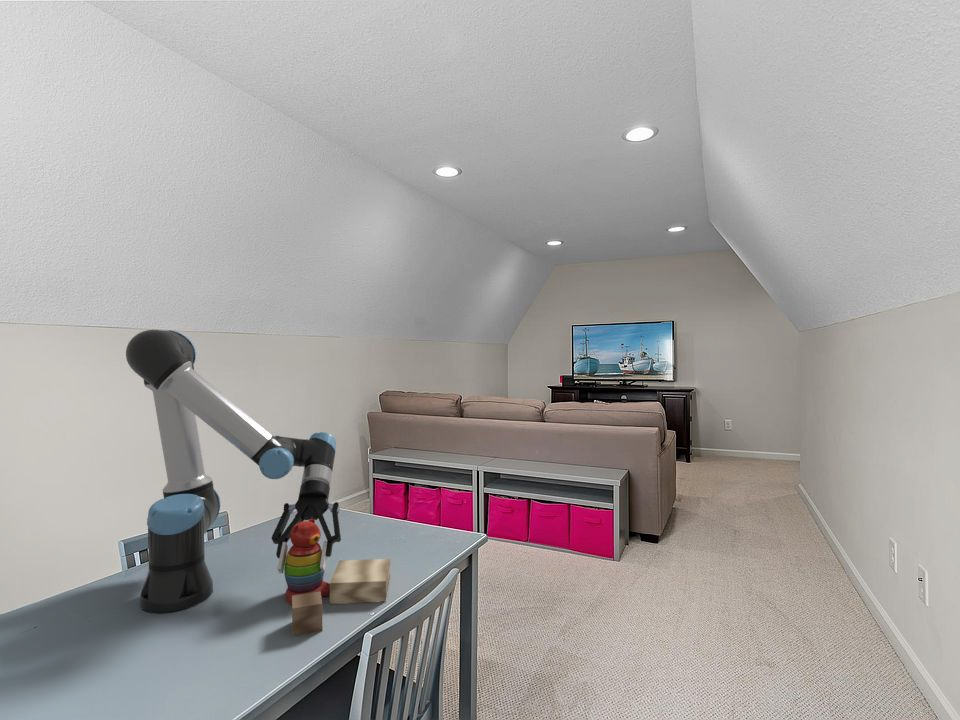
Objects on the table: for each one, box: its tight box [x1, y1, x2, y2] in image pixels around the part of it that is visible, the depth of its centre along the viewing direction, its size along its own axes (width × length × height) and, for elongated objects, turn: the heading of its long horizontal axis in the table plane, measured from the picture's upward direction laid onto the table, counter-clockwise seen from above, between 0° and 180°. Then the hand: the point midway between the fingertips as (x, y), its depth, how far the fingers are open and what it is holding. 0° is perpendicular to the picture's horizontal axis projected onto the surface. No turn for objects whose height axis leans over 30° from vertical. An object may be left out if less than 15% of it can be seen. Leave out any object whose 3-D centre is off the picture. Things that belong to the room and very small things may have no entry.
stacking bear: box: [283, 519, 330, 606], centre depth 128 cm, size 11×10×18 cm
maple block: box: [329, 558, 391, 605], centre depth 130 cm, size 13×13×5 cm
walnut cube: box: [291, 591, 323, 637], centre depth 113 cm, size 6×6×6 cm
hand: (301, 570), depth 125 cm, fingers closed on stacking bear, 9 cm apart
